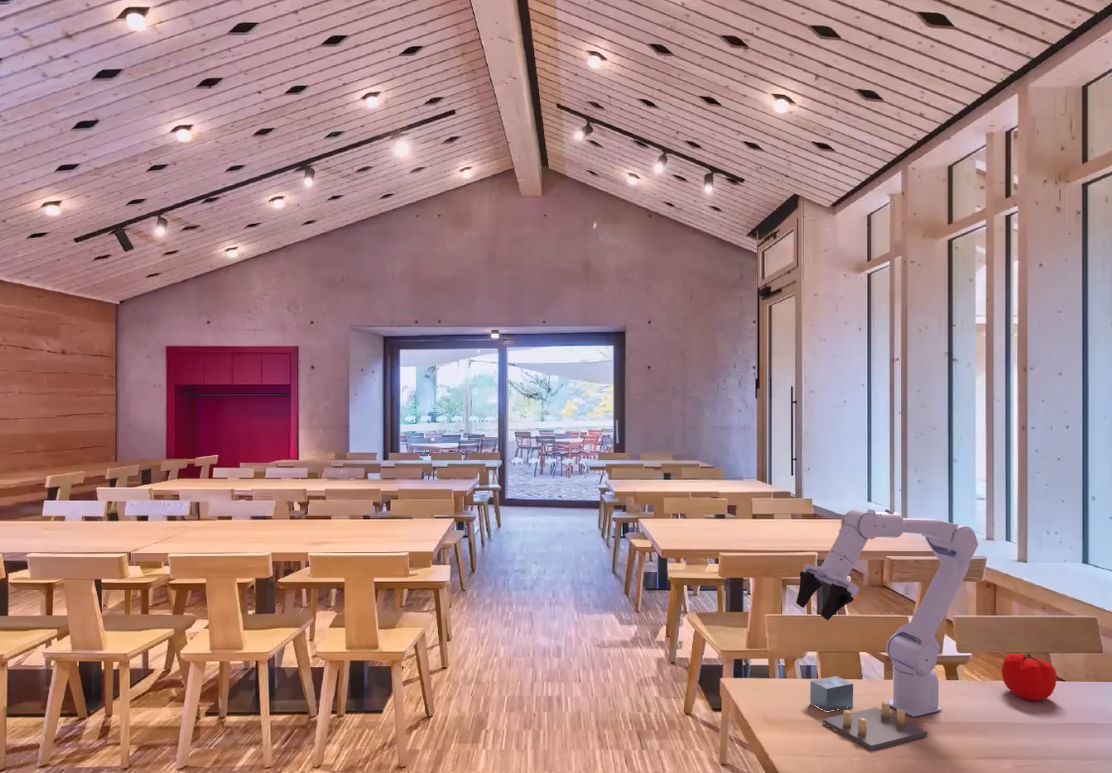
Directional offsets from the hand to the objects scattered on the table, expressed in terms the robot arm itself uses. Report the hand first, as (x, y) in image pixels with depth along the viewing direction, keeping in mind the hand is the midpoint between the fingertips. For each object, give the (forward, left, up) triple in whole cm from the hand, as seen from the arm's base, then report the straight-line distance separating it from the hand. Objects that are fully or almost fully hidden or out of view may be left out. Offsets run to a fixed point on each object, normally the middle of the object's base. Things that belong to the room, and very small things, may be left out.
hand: (811, 611), depth 160 cm
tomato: (-59, +10, -24) cm, 65 cm away
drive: (-10, -4, -24) cm, 26 cm away
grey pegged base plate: (-9, +9, -24) cm, 27 cm away
